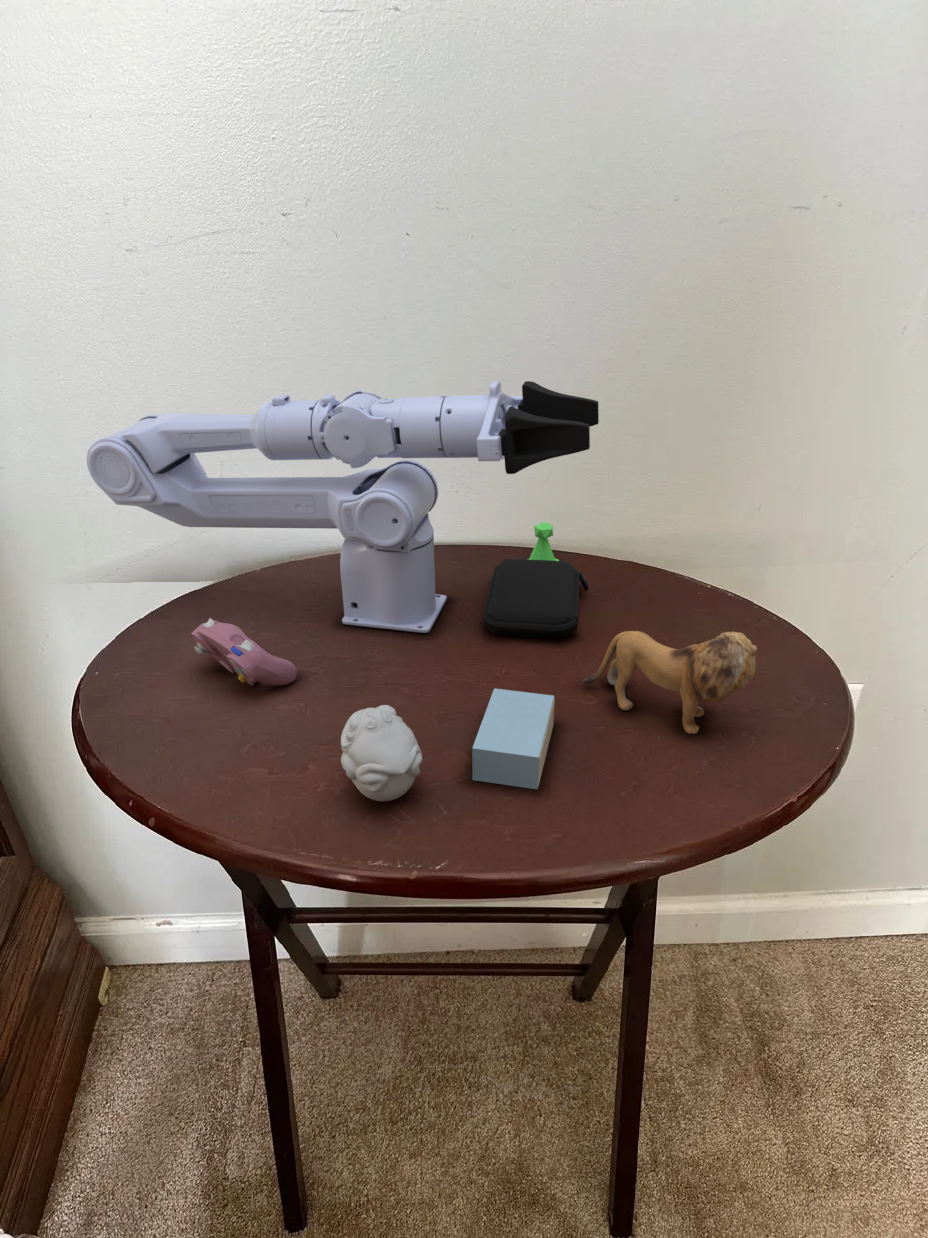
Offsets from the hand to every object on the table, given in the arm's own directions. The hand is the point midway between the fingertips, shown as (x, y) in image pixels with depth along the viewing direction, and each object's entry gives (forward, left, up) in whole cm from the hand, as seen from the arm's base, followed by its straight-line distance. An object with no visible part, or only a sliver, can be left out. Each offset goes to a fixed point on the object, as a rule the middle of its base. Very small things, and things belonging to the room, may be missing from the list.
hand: (594, 424), depth 77 cm
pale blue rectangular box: (-3, -21, -22) cm, 30 cm away
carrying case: (-5, +4, -22) cm, 23 cm away
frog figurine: (-12, -28, -22) cm, 38 cm away
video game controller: (-30, -15, -22) cm, 40 cm away
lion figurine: (+9, -12, -22) cm, 26 cm away
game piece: (-6, +14, -22) cm, 27 cm away
